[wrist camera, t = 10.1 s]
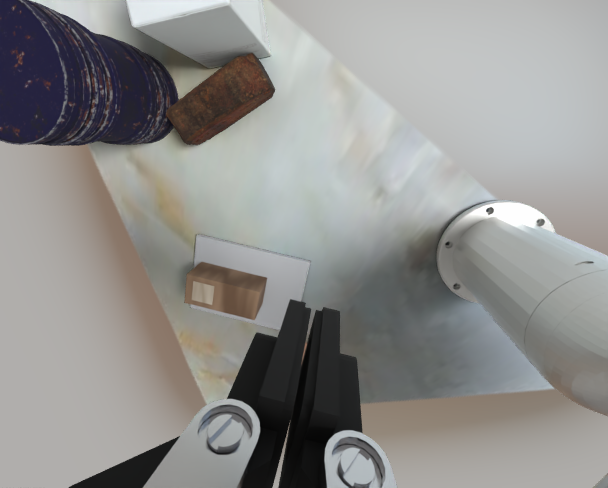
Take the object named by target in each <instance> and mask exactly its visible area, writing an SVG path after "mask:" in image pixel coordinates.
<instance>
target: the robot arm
mask: <svg viewBox="0 0 608 488" xmlns="http://www.w3.org/2000/svg"><path fill="white" fill-rule="evenodd" d="M487 208H488V211H486V209H487ZM536 221H537V222H536ZM446 242H448V244H445V243H446ZM436 262H437V267H438V271H439V274H440V276H441V278H442V280H443V281H444V282H445V284H446V285H447V286H448V288H449V289H450V290H451V291H452V292H454V293H455V294H456V295H458V296H459V297H461V298H463V299H465V300H468V301H470V302H475V303H479V304H481V305H482V307H483V308H484V309H485V310H486V311H487V312H488V314H489V315H490V316H491V317H492V318H493V319H494V321H495V322H496V323H497V324H498V325H499V326H500V328H501V329H502V330H503V331H504V332H505V333H506V335H507V336H508V337H509V338H510V339H511V340H512V342H513V343H514V344H515V345H516V346H517V347H518V349H519V350H520V351H521V352H522V353H523V354H524V356H525V357H526V358H527V359H528V360H529V361H530V362H531V364H532V365H533V366H534V367H535V368H536V369H537V370H538V372H539V373H540V374H541V375H542V376H543V377H544V378H545V379H546V380H547V381H548V382H549V383H550V384H551V385H552V386H553V387H554V388H555V389H556V390H557V391H559V392H560V393H561V394H562V395H564V396H565V397H567V398H568V399H570V400H572V401H573V402H575V403H577V404H578V405H580V406H582V407H585V408H587V409H589V410H592V411H594V412H597V413H600V414H603V415H606V416H608V256H607V255H605V254H602V253H600V252H598V251H595V250H593V249H591V248H588V247H586V246H584V245H581V244H579V243H576V242H574V241H572V240H570V239H567V238H565V237H563V236H560V235H558V234H556V233H555V230H554V227H553V226H552V224H551V222H550V221H549V219H548V218H547V217H546V216H545V215H543V213H542V212H540V211H539V210H537V209H535V208H533V207H532V206H529V205H526V204H523V203H520V202H516V201H511V200H496V201H489V202H485V203H482V204H479V205H476V206H474V207H472V208H470V209H468V210H466V211H465V212H463V213H462V214H461V215H459V216H458V217H457V218H456V219H455V220H454V221H453V222H452V223H451V224H450V225H449V226H448V227H447V229H446V230H445V232H444V233H443V235H442V237H441V239H440V241H439V244H438V249H437V256H436ZM454 284H455V285H454ZM305 304H306V303H304V302H300V301H296V300H292V299H290V301H289V304H288V307H287V310H286V313H285V316H284V319H283V322H282V326H281V329H280V332H279V335H278V338H277V337H273V336H269V335H265V334H261V333H256V334H255V336H254V339H253V341H252V343H251V345H250V348H249V350H248V352H247V354H246V357H245V359H244V361H243V364H242V366H241V368H240V370H239V373H238V375H237V377H236V379H235V382H234V384H233V386H232V389H231V391H230V393H229V395H228V398H227V399H221V400H217V401H213V402H211V403H209V404H208V405H206V406H204V407H203V408H202V409H201V410H200V411H199V412H198V413H197V414H196V415H195V417H194V418H193V419H192V421H191V422H190V424H189V425H188V426H187V428H186V429H185V431H184V432H183V433H182V435H181V436H179V437H177V438H175V439H173V440H170V441H169V442H166V443H164V444H162V445H159V446H158V447H155V448H153V449H151V450H149V451H146V452H144V453H142V454H140V455H138V456H135V457H133V458H131V459H129V460H127V461H125V462H123V463H120V464H118V465H116V466H114V467H112V468H109V469H107V470H105V471H103V472H101V473H98V474H96V475H94V476H92V477H90V478H88V479H85V480H83V481H81V482H79V483H77V484H74V485H72V486H71V487H69V488H272V487H273V483H274V479H275V475H276V472H277V468H278V464H279V460H280V457H281V453H282V449H283V445H284V442H285V438H286V434H287V430H288V426H289V423H290V426H289V432H288V438H287V443H286V449H285V454H284V460H283V465H282V471H281V477H280V482H279V488H397V484H396V481H395V477H394V474H393V470H392V467H391V465H390V462H389V460H388V458H387V455H386V454H385V453H384V451H383V450H382V448H381V447H380V446H379V445H378V444H377V443H376V442H375V441H373V439H371V438H370V437H368V436H366V435H364V434H363V433H362V421H361V409H360V395H359V381H358V368H357V359H356V358H355V357H352V356H348V355H344V354H340V311H337V310H332V309H328V308H324V307H323V309H322V311H318V310H316V312H315V316H314V319H313V323H312V327H311V331H310V335H309V338H308V342H307V346H306V350H305V354H304V358H303V353H304V347H305V341H306V336H307V330H308V324H309V318H310V313H311V309H310V308H306V307H305ZM302 358H303V361H302ZM301 364H302V365H301ZM290 419H291V421H290ZM593 488H608V473H607V474H606V475H605V476H604V477H603V478H602V479H601V480H600V481H599V482H598V483H597V484H596V485H595V486H594V487H593Z"/></svg>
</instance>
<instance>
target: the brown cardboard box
mask: <svg viewBox="0 0 608 488" xmlns="http://www.w3.org/2000/svg"><path fill="white" fill-rule="evenodd" d="M266 283H267V278H266V277H262V276H258V275H254V274H250V273H246V272H242V271H238V270H234V269H230V268H226V267H222V266H218V265H214V264H210V263H205V262H200V263H199V264H198V265H197V266H196V267H195V268H193V269H192V270H191V271H190V272H189V273H188V274H187V278H186V290H185V302H184V303H188V304H192V305H196V306H200V307H204V308H208V309H212V310H216V311H220V312H224V313H227V314H231V315H235V316H239V317H243V318H247V319H251V320H255V318H256V316H257V314H258V312H259V310H260V308H261V306H262V304H263V299H264V293H265V288H266Z"/></svg>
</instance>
